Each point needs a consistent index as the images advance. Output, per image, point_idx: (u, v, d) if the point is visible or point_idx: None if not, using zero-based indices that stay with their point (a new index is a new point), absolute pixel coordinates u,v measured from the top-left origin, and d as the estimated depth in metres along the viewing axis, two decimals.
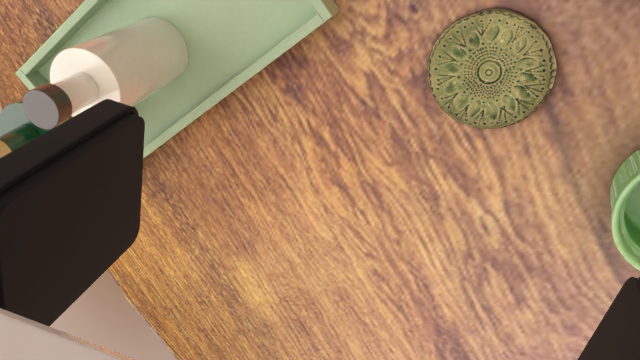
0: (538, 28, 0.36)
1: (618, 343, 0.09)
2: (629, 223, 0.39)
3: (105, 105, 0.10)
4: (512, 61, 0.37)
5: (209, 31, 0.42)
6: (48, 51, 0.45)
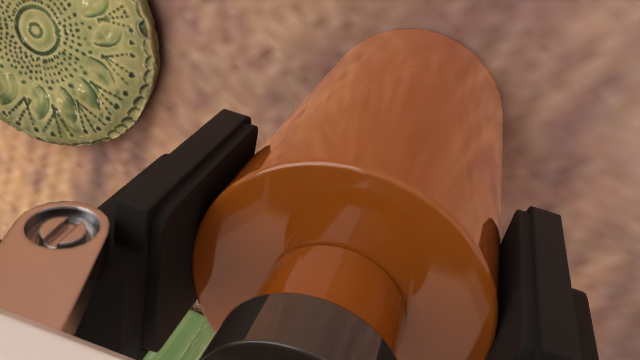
0: (149, 39, 0.17)
1: (502, 266, 0.10)
2: None
3: (225, 115, 0.11)
4: (80, 50, 0.18)
5: None
6: None
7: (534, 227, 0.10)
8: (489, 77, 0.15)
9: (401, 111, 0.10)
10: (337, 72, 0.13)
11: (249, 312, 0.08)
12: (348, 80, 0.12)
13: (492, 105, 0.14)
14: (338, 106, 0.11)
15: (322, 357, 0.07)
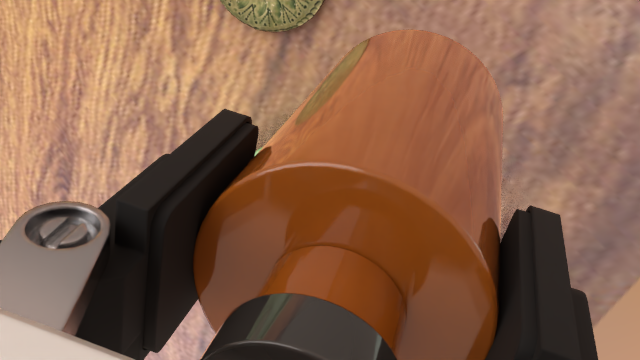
0: None
1: (501, 266, 0.10)
2: None
3: (226, 115, 0.11)
4: None
5: None
6: None
7: (534, 227, 0.10)
8: (489, 78, 0.15)
9: (401, 112, 0.10)
10: (337, 73, 0.13)
11: (250, 312, 0.08)
12: (348, 81, 0.12)
13: (492, 106, 0.14)
14: (339, 107, 0.11)
15: (323, 357, 0.07)
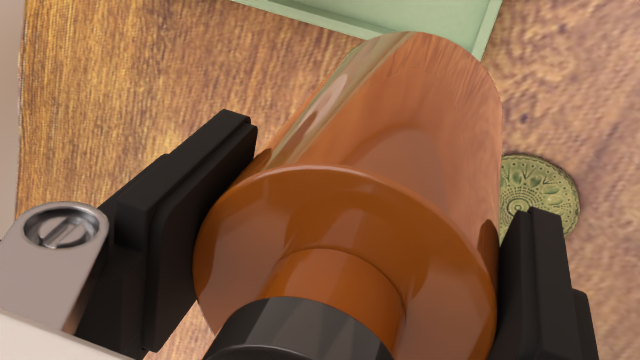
0: (577, 215, 0.40)
1: (502, 266, 0.10)
2: None
3: (225, 115, 0.11)
4: None
5: None
6: None
7: (534, 227, 0.10)
8: (489, 79, 0.15)
9: (400, 114, 0.10)
10: (337, 75, 0.13)
11: (249, 316, 0.08)
12: (348, 83, 0.12)
13: (492, 107, 0.14)
14: (338, 109, 0.11)
15: None
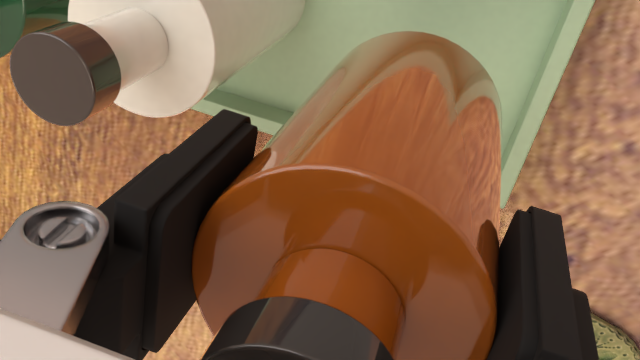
0: None
1: (502, 266, 0.10)
2: None
3: (225, 115, 0.11)
4: None
5: (342, 48, 0.25)
6: None
7: (535, 227, 0.10)
8: (488, 79, 0.15)
9: (400, 114, 0.10)
10: (336, 75, 0.13)
11: (248, 316, 0.08)
12: (347, 83, 0.12)
13: (491, 107, 0.14)
14: (337, 109, 0.11)
15: None
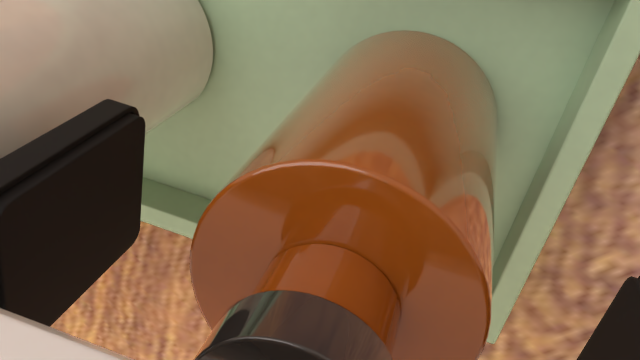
0: None
1: (618, 343, 0.09)
2: None
3: (106, 105, 0.11)
4: None
5: (269, 118, 0.18)
6: None
7: None
8: (484, 78, 0.15)
9: (395, 112, 0.11)
10: (333, 73, 0.14)
11: (246, 309, 0.08)
12: (344, 81, 0.12)
13: (486, 106, 0.14)
14: (333, 107, 0.11)
15: (317, 352, 0.07)
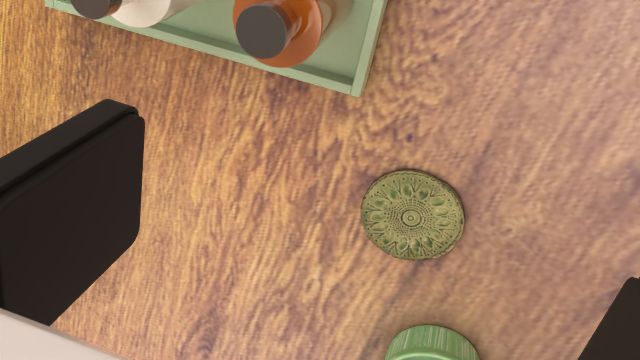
0: (462, 224, 0.44)
1: (618, 343, 0.09)
2: None
3: (105, 105, 0.10)
4: (429, 226, 0.45)
5: None
6: None
7: None
8: None
9: None
10: None
11: (251, 4, 0.30)
12: None
13: None
14: None
15: (269, 6, 0.29)
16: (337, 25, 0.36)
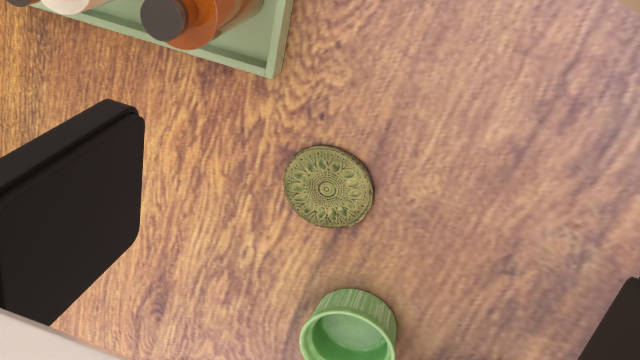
0: (371, 195, 0.50)
1: (618, 343, 0.09)
2: (319, 318, 0.57)
3: (105, 105, 0.10)
4: (343, 196, 0.50)
5: None
6: None
7: None
8: None
9: None
10: None
11: None
12: None
13: None
14: None
15: None
16: (243, 14, 0.41)
